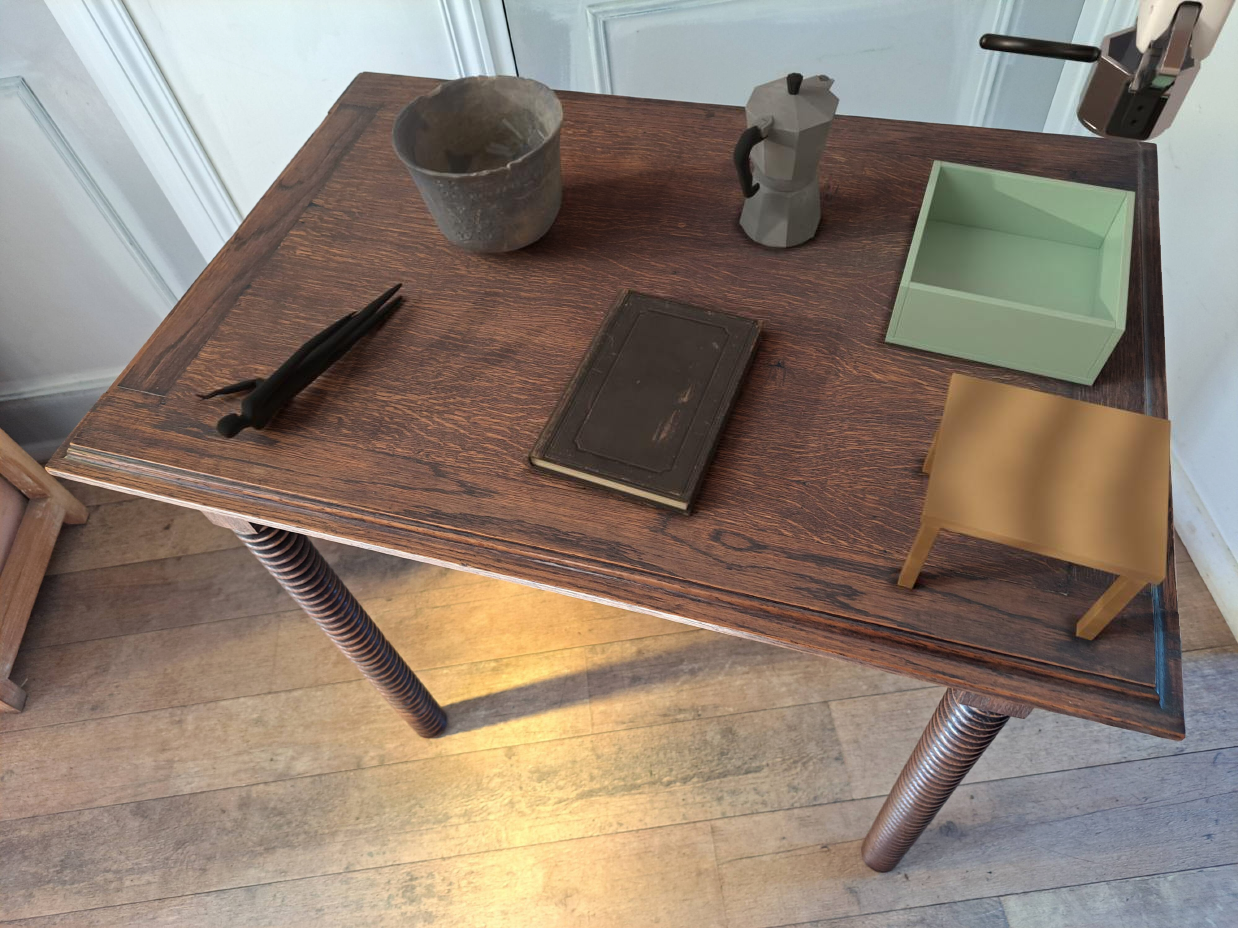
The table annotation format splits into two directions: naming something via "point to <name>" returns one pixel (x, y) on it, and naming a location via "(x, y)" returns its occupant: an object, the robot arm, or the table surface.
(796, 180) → the coffeepot
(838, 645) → the table surface
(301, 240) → the table surface
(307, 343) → the dark humanoid figurine
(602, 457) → the hardcover book
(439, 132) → the cup
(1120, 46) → the saucepan
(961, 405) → the stand
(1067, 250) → the basin
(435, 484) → the table surface
